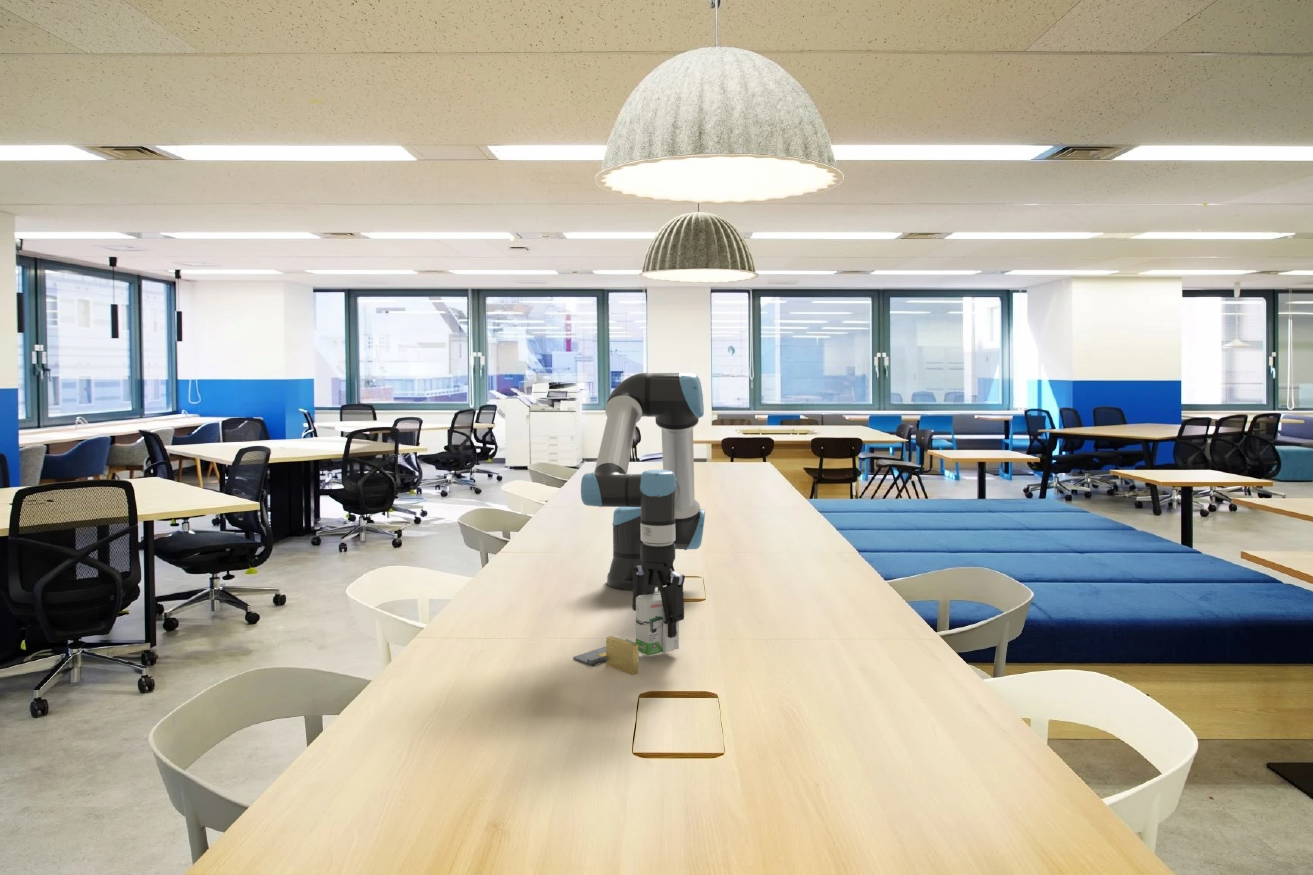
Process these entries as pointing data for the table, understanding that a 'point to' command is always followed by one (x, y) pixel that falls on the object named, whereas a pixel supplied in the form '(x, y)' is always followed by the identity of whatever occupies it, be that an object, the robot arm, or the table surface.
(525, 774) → the table surface
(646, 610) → the ink box
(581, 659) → the rail
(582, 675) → the table surface
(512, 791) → the table surface
